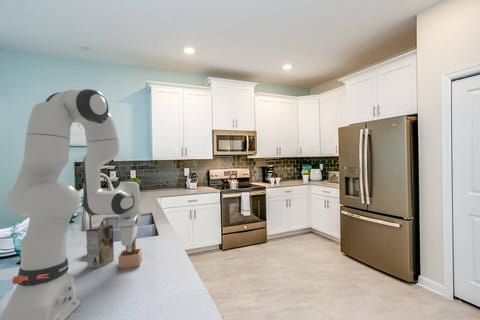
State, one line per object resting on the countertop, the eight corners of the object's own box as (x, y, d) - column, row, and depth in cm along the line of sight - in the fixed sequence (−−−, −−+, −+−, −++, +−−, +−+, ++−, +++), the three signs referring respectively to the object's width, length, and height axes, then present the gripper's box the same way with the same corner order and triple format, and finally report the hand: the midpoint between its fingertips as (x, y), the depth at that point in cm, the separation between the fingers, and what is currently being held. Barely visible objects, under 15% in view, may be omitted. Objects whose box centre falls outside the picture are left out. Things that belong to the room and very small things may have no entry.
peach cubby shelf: (139, 266, 110) (139, 254, 110) (118, 268, 108) (118, 256, 108) (141, 259, 118) (141, 248, 118) (122, 261, 116) (122, 250, 116)
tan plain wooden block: (134, 258, 112) (134, 240, 112) (126, 259, 111) (125, 240, 111) (135, 255, 115) (135, 237, 115) (127, 256, 114) (127, 238, 114)
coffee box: (102, 258, 119) (101, 224, 119) (114, 259, 118) (113, 224, 118) (86, 267, 110) (85, 229, 110) (99, 268, 109) (98, 230, 109)
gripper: (126, 213, 122) (126, 242, 122) (117, 223, 102) (118, 258, 102) (140, 212, 124) (141, 241, 124) (134, 222, 104) (135, 256, 104)
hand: (130, 249), depth 113 cm, fingers closed on tan plain wooden block, 3 cm apart
